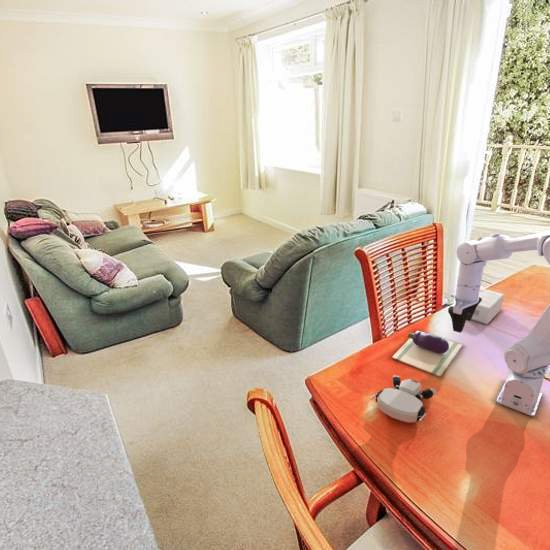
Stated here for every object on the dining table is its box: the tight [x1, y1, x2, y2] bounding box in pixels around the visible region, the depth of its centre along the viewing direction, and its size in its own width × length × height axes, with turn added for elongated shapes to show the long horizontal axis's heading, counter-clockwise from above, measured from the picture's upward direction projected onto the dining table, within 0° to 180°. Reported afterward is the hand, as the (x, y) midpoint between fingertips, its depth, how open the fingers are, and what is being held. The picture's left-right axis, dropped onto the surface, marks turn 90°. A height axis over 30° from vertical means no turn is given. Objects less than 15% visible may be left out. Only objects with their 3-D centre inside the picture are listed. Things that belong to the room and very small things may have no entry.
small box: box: [471, 287, 505, 325], centre depth 129 cm, size 8×6×13 cm
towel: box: [391, 330, 463, 378], centre depth 112 cm, size 18×14×1 cm
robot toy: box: [369, 374, 437, 424], centre depth 92 cm, size 12×4×15 cm
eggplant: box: [407, 330, 449, 354], centre depth 113 cm, size 12×5×5 cm
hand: (462, 325), depth 107 cm, fingers open, 7 cm apart
